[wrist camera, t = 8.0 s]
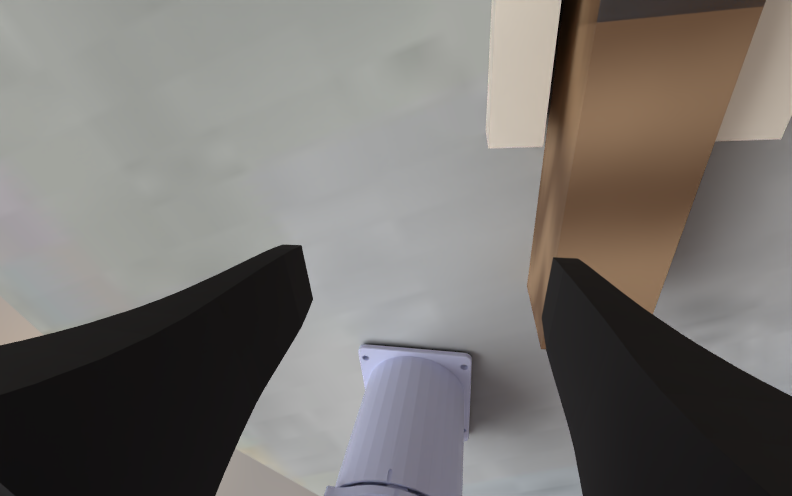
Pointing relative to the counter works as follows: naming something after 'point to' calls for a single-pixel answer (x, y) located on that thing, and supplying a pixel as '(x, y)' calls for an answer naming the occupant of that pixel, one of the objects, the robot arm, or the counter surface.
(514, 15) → the cream forked block
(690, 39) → the rail
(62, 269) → the counter surface
